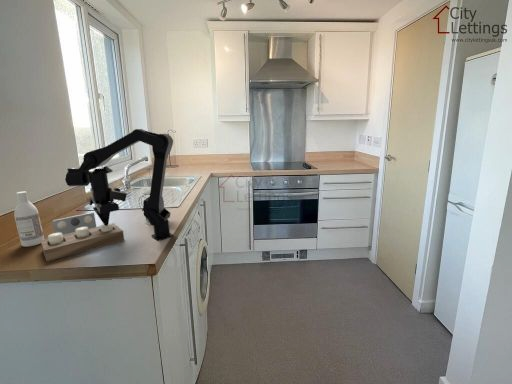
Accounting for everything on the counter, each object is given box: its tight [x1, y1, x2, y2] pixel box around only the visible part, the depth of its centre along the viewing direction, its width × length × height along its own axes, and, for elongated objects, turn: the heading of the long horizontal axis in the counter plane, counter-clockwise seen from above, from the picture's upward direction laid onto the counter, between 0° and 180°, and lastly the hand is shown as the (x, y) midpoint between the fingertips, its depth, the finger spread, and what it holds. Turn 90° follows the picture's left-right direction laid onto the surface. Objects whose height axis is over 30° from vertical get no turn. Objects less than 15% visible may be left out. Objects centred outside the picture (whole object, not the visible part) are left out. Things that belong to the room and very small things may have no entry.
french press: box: [138, 166, 152, 226], centre depth 123 cm, size 10×12×25 cm
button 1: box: [47, 232, 64, 245], centre depth 96 cm, size 4×4×4 cm
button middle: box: [75, 227, 90, 239], centre depth 101 cm, size 4×4×4 cm
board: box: [40, 222, 125, 262], centre depth 101 cm, size 12×24×4 cm, turn 132°
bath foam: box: [13, 191, 45, 248], centre depth 103 cm, size 7×7×20 cm
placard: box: [52, 211, 97, 235], centre depth 111 cm, size 1×14×8 cm, turn 132°
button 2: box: [100, 222, 113, 233], centre depth 106 cm, size 4×4×4 cm
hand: (106, 225), depth 106 cm, fingers closed, pressing on button 2
